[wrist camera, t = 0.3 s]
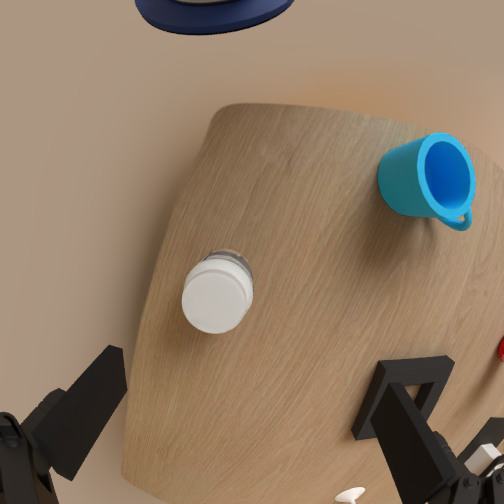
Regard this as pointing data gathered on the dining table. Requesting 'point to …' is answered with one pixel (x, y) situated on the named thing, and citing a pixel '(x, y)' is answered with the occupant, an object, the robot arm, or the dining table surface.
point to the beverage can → (501, 350)
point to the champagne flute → (350, 495)
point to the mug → (429, 180)
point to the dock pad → (408, 373)
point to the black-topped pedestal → (484, 450)
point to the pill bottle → (218, 291)
